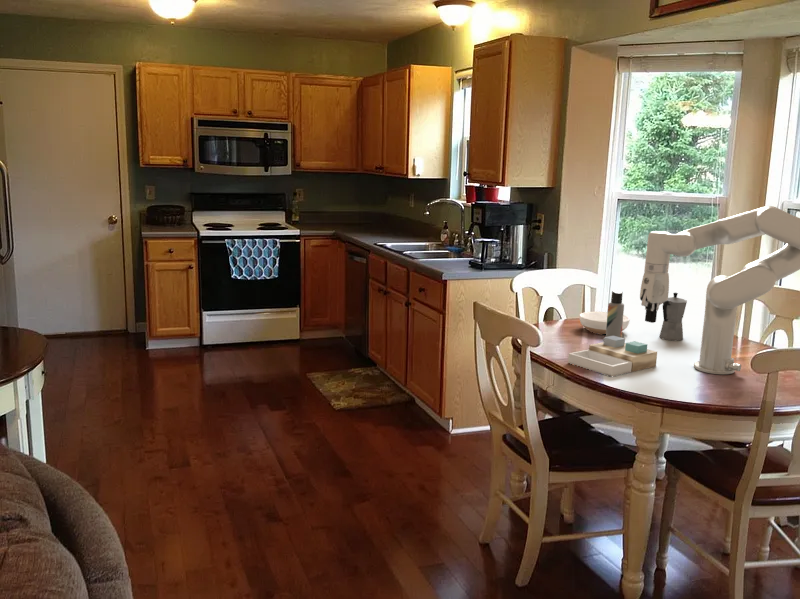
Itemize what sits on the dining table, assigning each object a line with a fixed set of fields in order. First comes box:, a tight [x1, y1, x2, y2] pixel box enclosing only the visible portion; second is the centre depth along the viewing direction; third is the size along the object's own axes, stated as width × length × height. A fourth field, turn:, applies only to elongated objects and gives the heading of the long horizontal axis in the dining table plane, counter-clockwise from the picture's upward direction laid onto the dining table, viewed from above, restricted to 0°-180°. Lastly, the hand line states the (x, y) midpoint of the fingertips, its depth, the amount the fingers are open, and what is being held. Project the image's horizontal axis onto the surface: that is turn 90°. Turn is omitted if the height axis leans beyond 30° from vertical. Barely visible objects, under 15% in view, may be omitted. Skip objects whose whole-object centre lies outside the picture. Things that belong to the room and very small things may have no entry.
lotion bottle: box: [605, 289, 625, 338], centre depth 275 cm, size 6×6×20 cm
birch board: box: [588, 341, 658, 373], centre depth 250 cm, size 18×13×5 cm
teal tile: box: [625, 340, 648, 354], centre depth 246 cm, size 5×5×2 cm
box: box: [567, 349, 632, 378], centre depth 243 cm, size 18×10×4 cm, turn 36°
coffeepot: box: [659, 292, 688, 341], centre depth 285 cm, size 15×9×18 cm, turn 134°
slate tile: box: [603, 336, 626, 348], centre depth 253 cm, size 5×5×2 cm
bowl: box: [579, 311, 631, 335], centre depth 295 cm, size 20×20×6 cm
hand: (650, 321), depth 249 cm, fingers closed
